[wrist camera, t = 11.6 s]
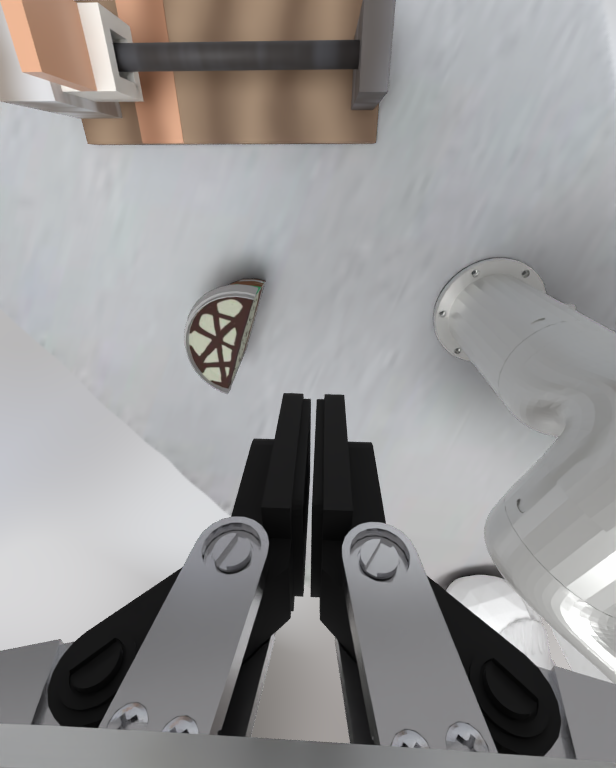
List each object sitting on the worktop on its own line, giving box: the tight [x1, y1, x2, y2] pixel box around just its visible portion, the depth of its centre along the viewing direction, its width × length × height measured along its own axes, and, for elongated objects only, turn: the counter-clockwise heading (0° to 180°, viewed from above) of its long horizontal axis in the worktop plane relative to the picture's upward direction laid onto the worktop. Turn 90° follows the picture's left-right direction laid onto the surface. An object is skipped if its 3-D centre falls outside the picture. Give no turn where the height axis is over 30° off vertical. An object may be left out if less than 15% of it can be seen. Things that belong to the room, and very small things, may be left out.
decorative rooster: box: [446, 575, 556, 670], centre depth 62 cm, size 25×16×25 cm, turn 95°
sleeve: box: [0, 0, 143, 102], centre depth 25 cm, size 4×5×11 cm
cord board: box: [0, 0, 396, 145], centre depth 29 cm, size 28×10×12 cm, turn 90°
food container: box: [184, 279, 265, 394], centre depth 41 cm, size 12×6×10 cm, turn 161°
